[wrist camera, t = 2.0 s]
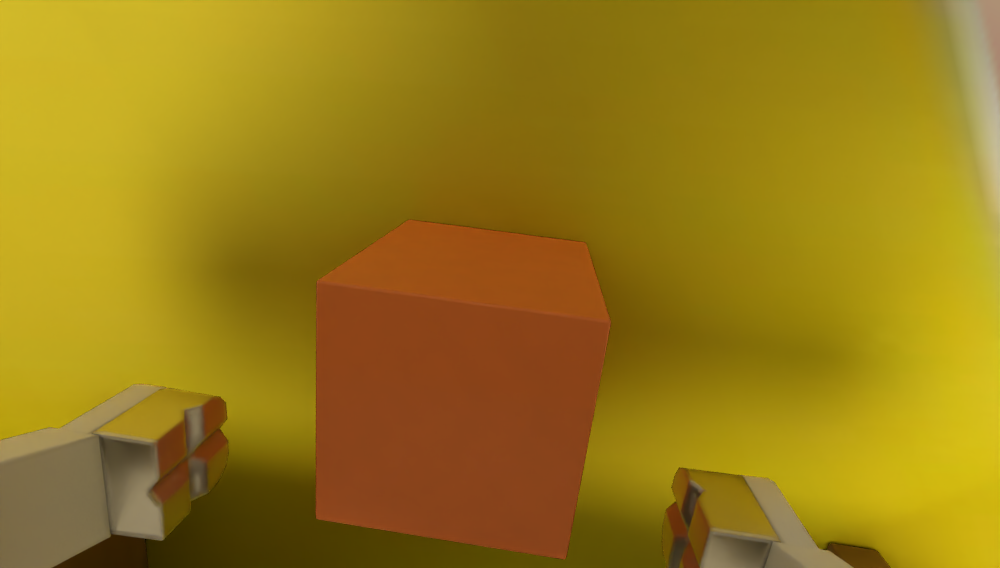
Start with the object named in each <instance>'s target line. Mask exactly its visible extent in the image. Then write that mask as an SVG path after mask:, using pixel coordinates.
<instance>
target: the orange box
mask: <svg viewBox="0 0 1000 568" xmlns="http://www.w3.org/2000/svg"><path fill="white" fill-rule="evenodd" d="M610 327H611V320H610V317H609V314H608V311H607V308H606V304H605V301H604V298H603V295H602V292H601V288H600V285H599V282H598V279H597V276H596V273H595V269H594V266H593V263H592V260H591V257H590V254H589V250H588V247H587V244H586V243H585V242H579V241H571V240H563V239H556V238H548V237H540V236H532V235H525V234H517V233H509V232H501V231H494V230H486V229H478V228H470V227H463V226H455V225H447V224H439V223H432V222H424V221H416V220H407V221H406V222H404V223H403V224H401V225H400V226H398V227H397V228H395V229H394V230H392V231H391V232H389V233H388V234H386V235H385V236H383V237H382V238H380V239H379V240H377V241H376V242H374V243H373V244H371V245H370V246H368V247H367V248H365V249H364V250H362V251H361V252H359V253H358V254H356V255H355V256H353V257H352V258H350V259H349V260H347V261H346V262H344V263H343V264H341V265H340V266H338V267H337V268H335V269H334V270H332V271H331V272H329V273H328V274H326V275H325V276H323V277H322V278H320V279H319V280H318V281H317V286H316V519H318V520H324V521H330V522H336V523H343V524H349V525H355V526H361V527H367V528H373V529H379V530H386V531H392V532H398V533H404V534H410V535H416V536H423V537H429V538H435V539H441V540H447V541H453V542H459V543H466V544H472V545H478V546H484V547H490V548H496V549H503V550H509V551H515V552H521V553H527V554H533V555H539V556H546V557H552V558H558V559H566V557H567V552H568V547H569V542H570V536H571V531H572V526H573V521H574V515H575V510H576V505H577V500H578V494H579V489H580V484H581V479H582V473H583V468H584V463H585V458H586V452H587V447H588V442H589V437H590V431H591V426H592V421H593V416H594V411H595V405H596V400H597V395H598V390H599V384H600V379H601V374H602V369H603V363H604V358H605V353H606V348H607V342H608V337H609V332H610Z"/></svg>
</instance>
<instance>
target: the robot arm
mask: <svg viewBox="0 0 1000 568" xmlns="http://www.w3.org/2000/svg"><path fill="white" fill-rule="evenodd" d="M226 420H227V407H226V402H225V401H224V400H223V399H222V398H221V397H219V396H213V395H207V394H202V393H196V392H190V391H184V390H179V389H173V388H166V387H162V386H155V385H147V384H134V385H132V386H130V387H129V388H127V389H125V390H124V391H122V392H120V393H119V394H117V395H115V396H114V397H112V398H110V399H108V400H107V401H105V402H103V403H102V404H100V405H98V406H97V407H95V408H93V409H91V410H90V411H88V412H86V413H85V414H83V415H81V416H80V417H78V418H76V419H75V420H73V421H71V422H69V423H68V424H66V425H64V426H63V427H61V428H59V429H57V428H46V429H42V430H38V431H34V432H30V433H26V434H22V435H19V436H15V437H11V438H7V439H3V440H0V568H52V567H54V566H56V565H58V564H60V563H62V562H64V561H66V560H67V559H69V558H71V557H73V556H75V555H77V554H79V553H81V552H83V551H84V550H86V549H88V548H90V547H92V546H94V545H96V544H98V543H100V542H101V541H103V540H105V539H107V538H109V537H110V536H111V534H116V535H123V536H131V537H138V538H145V539H153V540H160V541H163V540H164V539H165V538H166V537H167V536H168V535H169V534H170V533H171V532H172V531H173V530H174V528H175V527H176V526H177V525H178V524H179V523H180V522H181V521H182V520H183V519H184V518H185V517H186V516H187V515H188V514H189V513H190V512H191V506H190V501H192V500H195V499H197V498H199V497H201V496H204V495H206V494H208V493H209V492H210V491H211V490H212V488H213V487H214V486H215V485H216V484H217V483H218V482H219V480H220V478H221V476H222V474H223V471H224V469H225V467H226V464H227V459H228V454H229V445H228V440H227V438H226V437H225V435H224V434H223V432H222V431H221V430H220V428H221V426H222V425H223V424H224V423H225V422H226ZM671 488H672V491H673V494H674V497H675V500H676V502H674V503H673V504H672V505H671V506H669V507H668V508H667V509H666V512H665V516H664V521H663V526H662V549H663V556H664V560H665V564H666V568H853V567H852V566H850V565H849V564H848V563H846V562H845V561H843V560H842V559H840V558H839V557H838V556H836V555H835V554H833V553H832V552H830V551H828V550H822V549H819V548H818V547H817V545H816V544H815V542H814V541H813V539H812V538H811V536H810V535H809V533H808V532H807V530H806V529H805V527H804V526H803V524H802V523H801V521H800V520H799V518H798V517H797V515H796V514H795V512H794V511H793V509H792V508H791V506H790V505H789V503H788V502H787V500H786V499H785V497H784V496H783V494H782V493H781V491H780V490H779V488H778V487H777V485H776V484H775V482H773V481H772V480H770V479H769V478H762V477H754V476H745V475H734V474H726V473H719V472H711V471H703V470H695V469H688V468H680V467H679V468H678V470H677V472H676V473H675V476H674V479H673V483H672V487H671Z"/></svg>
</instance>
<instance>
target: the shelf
mask: <svg viewBox="0 0 1000 568" xmlns="http://www.w3.org/2000/svg"><path fill="white" fill-rule="evenodd" d="M827 550H828V551H830V552H832V553H833V554H835V555H836V556H838V557H839V558H840V559H842V560H843V561H845V562H846V563H848V564H849V565H850V566H852V567H853V568H890V566H889V565H888V564H887V562H886V561H885V560H884V558H883V557H882V556H881V555H880V553H879V552H878V551H876V550H872V549H865V548H859V547H853V546H846V545H840V544H833V543H831V544H829V546H828V549H827ZM52 568H148V562H147V553H146V545H145V538H138V537H131V536H123V535H116V534H111V536H110V537H109V538H107V539H105V540H103V541H101V542H100V543H98V544H96V545H94V546H92V547H90V548H88V549H86V550H84V551H83V552H81V553H79V554H77V555H75V556H73V557H71V558H69V559H67V560H66V561H64V562H62V563H60V564H58V565H56V566H54V567H52Z"/></svg>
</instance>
